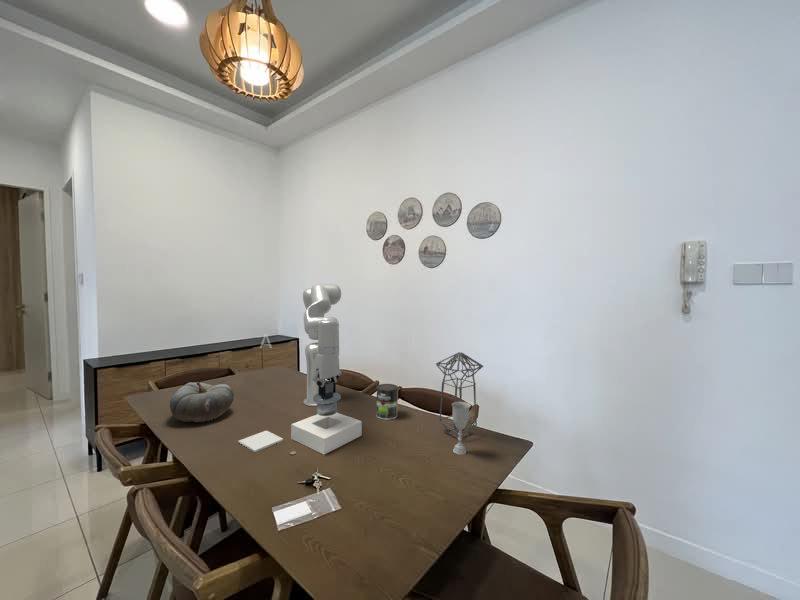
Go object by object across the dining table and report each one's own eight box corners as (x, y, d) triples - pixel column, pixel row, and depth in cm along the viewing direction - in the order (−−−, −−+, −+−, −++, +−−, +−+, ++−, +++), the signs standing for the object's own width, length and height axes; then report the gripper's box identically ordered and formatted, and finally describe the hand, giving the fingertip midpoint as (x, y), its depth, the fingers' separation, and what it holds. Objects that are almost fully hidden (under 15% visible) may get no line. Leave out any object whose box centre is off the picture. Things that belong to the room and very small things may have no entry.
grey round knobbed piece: (328, 404, 145) (328, 376, 145) (346, 411, 139) (346, 381, 138) (307, 412, 137) (307, 382, 136) (325, 420, 130) (325, 388, 129)
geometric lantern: (457, 444, 133) (460, 358, 132) (431, 430, 146) (433, 351, 144) (483, 434, 143) (486, 353, 141) (457, 422, 155) (459, 347, 153)
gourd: (177, 404, 163) (182, 370, 162) (233, 406, 172) (238, 374, 171) (160, 430, 140) (166, 391, 139) (225, 432, 149) (232, 395, 147)
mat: (266, 432, 141) (266, 430, 141) (283, 440, 134) (283, 438, 134) (238, 442, 131) (238, 440, 131) (254, 452, 124) (254, 450, 124)
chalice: (457, 457, 124) (458, 409, 123) (446, 449, 130) (447, 403, 129) (472, 453, 127) (474, 406, 126) (461, 445, 133) (463, 400, 132)
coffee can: (392, 421, 154) (393, 391, 154) (372, 417, 158) (372, 388, 158) (400, 413, 164) (401, 385, 163) (381, 410, 168) (382, 382, 167)
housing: (329, 422, 152) (329, 409, 151) (361, 435, 140) (361, 421, 139) (291, 438, 136) (291, 424, 135) (324, 454, 124) (324, 438, 123)
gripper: (336, 345, 145) (336, 386, 146) (304, 352, 131) (304, 397, 133) (349, 348, 141) (348, 390, 142) (316, 355, 127) (316, 402, 128)
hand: (327, 393), depth 137 cm, fingers closed on grey round knobbed piece, 5 cm apart
